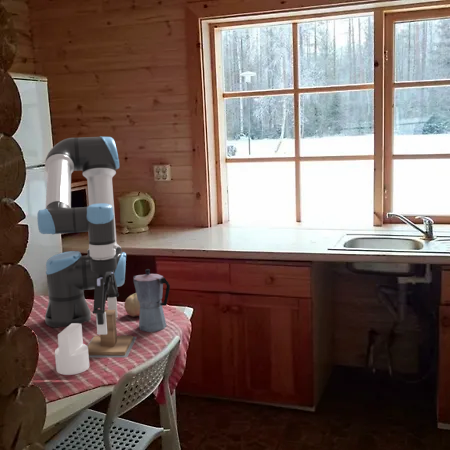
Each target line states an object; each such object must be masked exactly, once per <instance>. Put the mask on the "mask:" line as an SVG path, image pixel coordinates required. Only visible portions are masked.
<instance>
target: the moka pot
mask: <svg viewBox="0 0 450 450" xmlns="http://www.w3.org/2000/svg"><path fill="white" fill-rule="evenodd" d="M150 272H151V270H150V269H149V268H147V269H145V274H138V275H133V277H132V278H133V284H134V288H135V293H136V294H137V298H138V301H139V304H140V316H138V317H139V321H138V325H139V326H138V328H139V330H140V331H142V332H148V333H151V332H153V333H155V332H159V331H162V330H165V329H166V327H167V322H166V318H165V313H164V308H163V306H164V307H165V306H167V305H168V304H167V303H168V298H169V294H170V290H171V289H170V287H171V285H170V283H169V281H167V279H166V277H164V275H161V274H158V273H150ZM164 284H165V286H166V287H165V288H166V289H165V294H164V300H163V301H162V299H163V290H164V289H163V288H164Z"/></svg>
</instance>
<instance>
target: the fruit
mask: <svg viewBox="0 0 450 450" xmlns="http://www.w3.org/2000/svg"><path fill="white" fill-rule="evenodd" d="M124 309H125V312H126V313H127V314H128V315H129V316H130V317H140V304H139V301H138V298H137V294H136V292H135V293H132V294H130V295H129V296H128V297H127V298H126V299H125V301H124Z"/></svg>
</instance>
